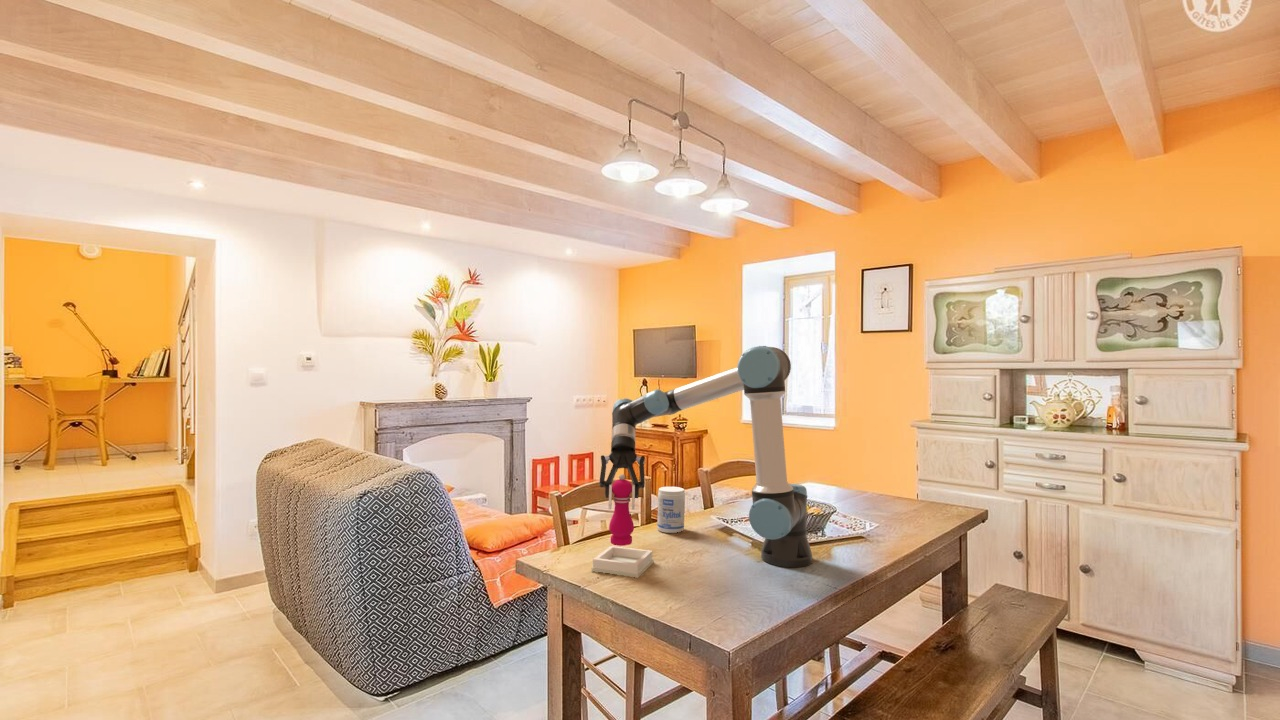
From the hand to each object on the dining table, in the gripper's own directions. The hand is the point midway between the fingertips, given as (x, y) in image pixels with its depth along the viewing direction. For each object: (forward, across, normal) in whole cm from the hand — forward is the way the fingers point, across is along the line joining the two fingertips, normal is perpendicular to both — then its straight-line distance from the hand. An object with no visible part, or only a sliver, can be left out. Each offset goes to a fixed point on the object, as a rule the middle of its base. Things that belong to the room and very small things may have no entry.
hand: (621, 506), depth 172 cm
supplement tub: (-17, -17, -43) cm, 49 cm away
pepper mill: (+6, 0, -11) cm, 12 cm away
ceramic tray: (+11, -1, -15) cm, 19 cm away
